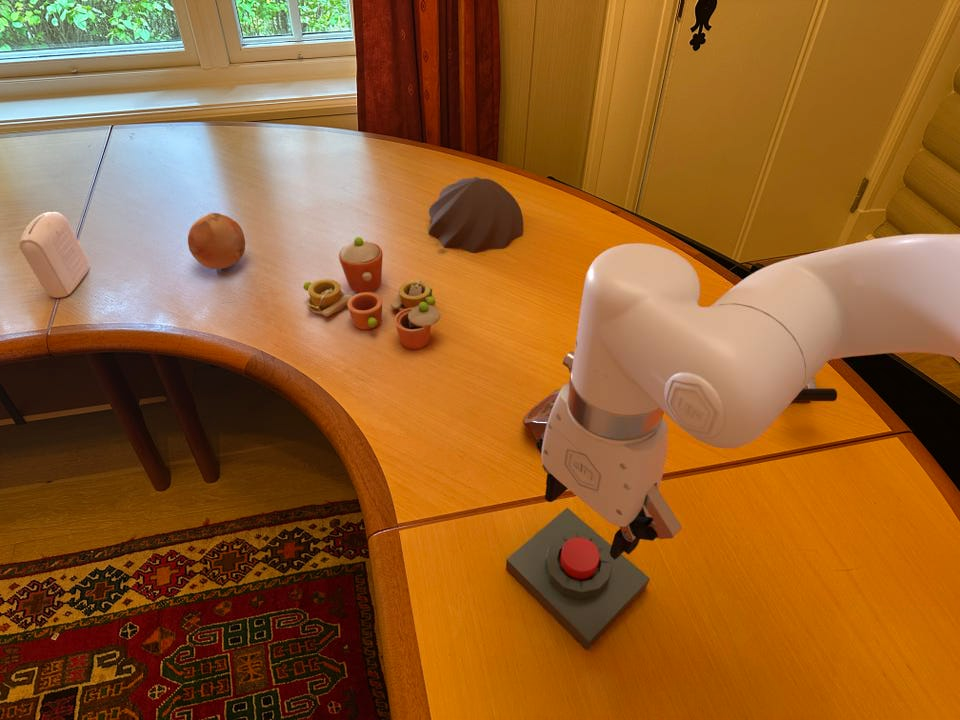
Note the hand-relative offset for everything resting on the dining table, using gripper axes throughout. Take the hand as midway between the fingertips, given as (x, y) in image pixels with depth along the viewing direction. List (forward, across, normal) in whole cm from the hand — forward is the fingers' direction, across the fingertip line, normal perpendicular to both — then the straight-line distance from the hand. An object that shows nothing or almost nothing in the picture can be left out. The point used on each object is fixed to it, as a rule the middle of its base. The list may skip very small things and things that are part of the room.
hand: (588, 519), depth 59 cm
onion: (+12, -85, -2) cm, 86 cm away
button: (+8, 0, 0) cm, 8 cm away
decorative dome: (+12, -64, +42) cm, 77 cm away
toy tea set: (+12, -54, +12) cm, 57 cm away
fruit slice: (+12, -17, +14) cm, 25 cm away
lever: (+4, +1, +42) cm, 43 cm away
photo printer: (+12, -98, -25) cm, 102 cm away
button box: (+12, 0, 0) cm, 12 cm away
